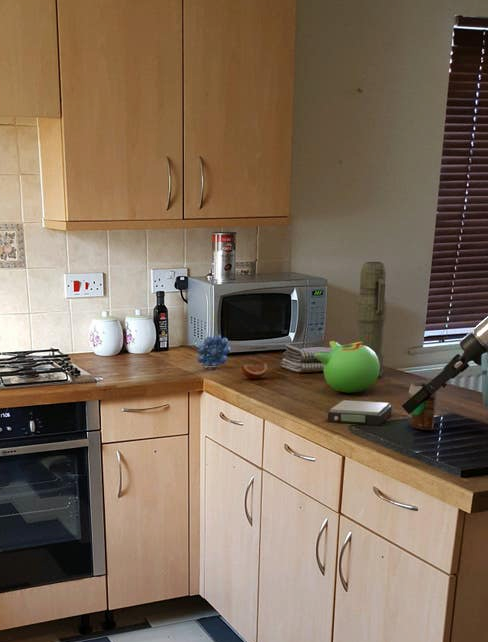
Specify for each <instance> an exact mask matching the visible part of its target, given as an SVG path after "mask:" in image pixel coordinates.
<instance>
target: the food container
mask: <svg viewBox="0 0 488 642" xmlns="http://www.w3.org/2000/svg"><path fill="white" fill-rule="evenodd" d="M431 381H432V380H421V381H415V382H412V383H411V384H410V386H409V390H408V394H409V395H411V396H410V398H411V397H412V396H414V395H415V394H416V393H417V392H418V391H419V390H420V389H422V388H423V387H422V386H421V385H422V384H423V383H424V384H425V385H426V384H428V383H429V382H431ZM431 388H432V387H431ZM432 389H433V388H432ZM433 390H434V389H433ZM436 400H437V391H435V392H434V394H433V395H431V396H430V397H429V398H428V399H427V400H426V401H424V402H423V403H422V404H421V405H420V406H419V407H418V408H416V409H415V410H414V411H413V412H412V413H411V427H412V428H414V429H419V430H425V431H433V429H434V424H435V418H436V417H435V415H436V414H435V413H436Z"/></svg>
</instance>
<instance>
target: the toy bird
mask: <svg viewBox="0 0 488 642" xmlns="http://www.w3.org/2000/svg"><path fill="white" fill-rule="evenodd" d="M362 343H363V342H357V341H356V342H352V343H345V344H342V345H341V344H339V343H338V342H336V341H334V340H331V341H329V348H331V350H332V351H331V352H330V353H316V354H315V355H314V356H315V357H316V358H317V359H318V360H320V361H321V362H323V363H324V369H323V370H324V371H323V376H324V379H325V381H326V383H327V384H328V385H329V386H330V387H331V388H332V389H333V390H336V391H337V392H340V393H345V394H353V393H354V394H355V393H359V392H363V391H366V390H367V389H369V388H371V387H372V386H373V385H374V384H375V382H376V381H377V380H378V375H379V371H380V364H379V360H378V357H377V355H376V354H375V352H374V351H373V350H372V349H370V348H369V347H367V346H364V345H361V344H362Z"/></svg>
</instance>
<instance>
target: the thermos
mask: <svg viewBox="0 0 488 642" xmlns="http://www.w3.org/2000/svg"><path fill="white" fill-rule="evenodd" d="M386 275H387V272H386V267H385V263H384V262H382V261H366V262H365V263H363V265H362V267H361V270H360V277H359V297H358V299H357V302H356V321H357V333H356V334H357V337H356V338H357V340H356V343H357V342H363V343H362V344H361V345H364V346H367V347H369V348H370V349H372V350H373V351H374V352H375V354H376V355H377V357H378V360H379V364H380V371H379V375H378V378H382V377H383V369H384V358H385V357H384V353H383V342H384V341H383V339H384V323H385V321H386V312H387V300H386V294H385V293H386V277H387V276H386ZM378 378H377V379H378Z"/></svg>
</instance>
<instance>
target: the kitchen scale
mask: <svg viewBox="0 0 488 642" xmlns="http://www.w3.org/2000/svg"><path fill="white" fill-rule="evenodd" d="M392 408H393V406H392V405H390V402H381V401H365V400H364V401H363V400H347V399H346V400H345V399H344V400H341V401H340V402H339V403H338V404H336V405H334V406H333V407H331V408H330V410H329V411H327V422H328V423H338V424H351V425H352V424H353V425H367V426H380V425H382V424H383V423H385V421H386V420H387V419H389V417H391V416H392Z"/></svg>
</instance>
